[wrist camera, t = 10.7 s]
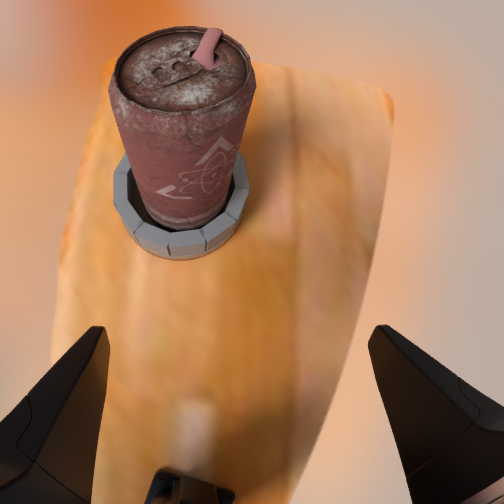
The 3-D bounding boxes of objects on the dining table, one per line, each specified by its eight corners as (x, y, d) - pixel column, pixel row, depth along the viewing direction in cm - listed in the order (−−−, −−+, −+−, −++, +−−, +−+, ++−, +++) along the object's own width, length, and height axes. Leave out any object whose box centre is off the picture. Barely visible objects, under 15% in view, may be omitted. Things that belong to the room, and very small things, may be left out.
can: (234, 173, 25) (275, 34, 11) (211, 247, 23) (237, 137, 10) (163, 154, 24) (149, 11, 11) (134, 225, 22) (76, 103, 9)
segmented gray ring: (216, 280, 23) (219, 272, 20) (100, 232, 23) (86, 216, 19) (260, 171, 26) (269, 150, 23) (155, 133, 26) (151, 108, 22)
